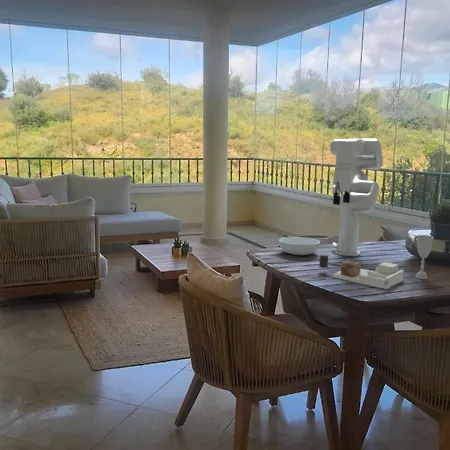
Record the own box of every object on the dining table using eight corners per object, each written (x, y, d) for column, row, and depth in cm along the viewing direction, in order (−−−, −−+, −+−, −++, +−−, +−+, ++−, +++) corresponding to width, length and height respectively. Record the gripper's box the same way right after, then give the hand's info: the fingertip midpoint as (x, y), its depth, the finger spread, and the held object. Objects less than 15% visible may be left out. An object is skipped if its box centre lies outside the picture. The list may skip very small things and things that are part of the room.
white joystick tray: (332, 277, 213) (333, 261, 212) (350, 269, 226) (351, 255, 225) (386, 289, 198) (388, 272, 197) (403, 280, 211) (404, 264, 209)
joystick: (316, 268, 219) (317, 256, 218) (323, 266, 224) (323, 253, 223) (353, 276, 208) (354, 263, 207) (360, 273, 213) (361, 260, 212)
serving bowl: (328, 254, 254) (328, 241, 253) (299, 260, 241) (300, 246, 240) (297, 247, 270) (298, 234, 269) (270, 252, 257) (270, 239, 256)
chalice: (421, 280, 211) (425, 238, 208) (409, 276, 217) (412, 235, 214) (433, 278, 215) (437, 237, 211) (421, 274, 221) (424, 234, 217)
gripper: (345, 165, 240) (342, 201, 243) (327, 167, 227) (325, 204, 230) (359, 166, 235) (357, 202, 238) (342, 168, 222) (339, 206, 225)
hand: (341, 203), depth 234 cm, fingers open, 9 cm apart
